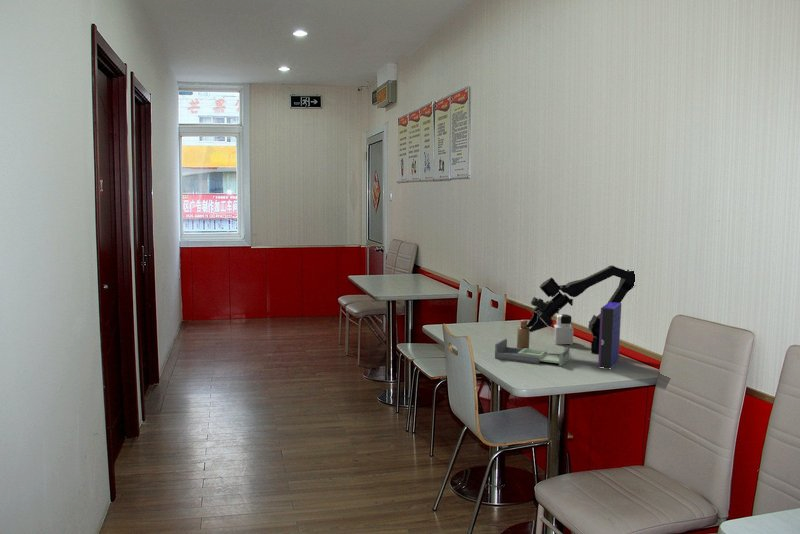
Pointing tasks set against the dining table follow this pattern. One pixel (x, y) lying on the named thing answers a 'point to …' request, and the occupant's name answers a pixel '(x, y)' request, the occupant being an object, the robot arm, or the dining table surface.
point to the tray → (547, 355)
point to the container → (563, 330)
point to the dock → (512, 353)
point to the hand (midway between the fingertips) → (528, 329)
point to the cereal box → (609, 334)
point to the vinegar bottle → (523, 335)
